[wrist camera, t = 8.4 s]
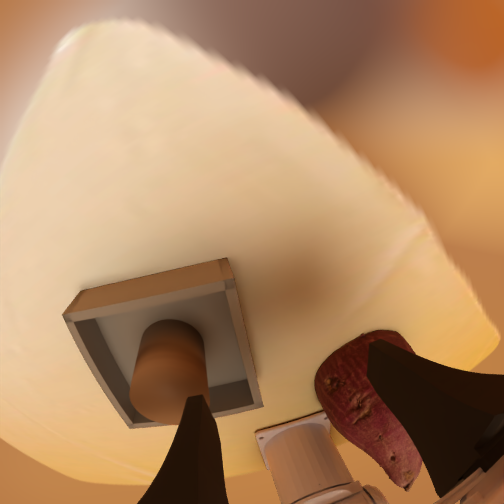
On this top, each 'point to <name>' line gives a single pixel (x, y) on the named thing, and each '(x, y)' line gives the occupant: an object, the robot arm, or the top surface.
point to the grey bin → (160, 308)
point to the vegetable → (367, 408)
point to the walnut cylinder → (168, 371)
